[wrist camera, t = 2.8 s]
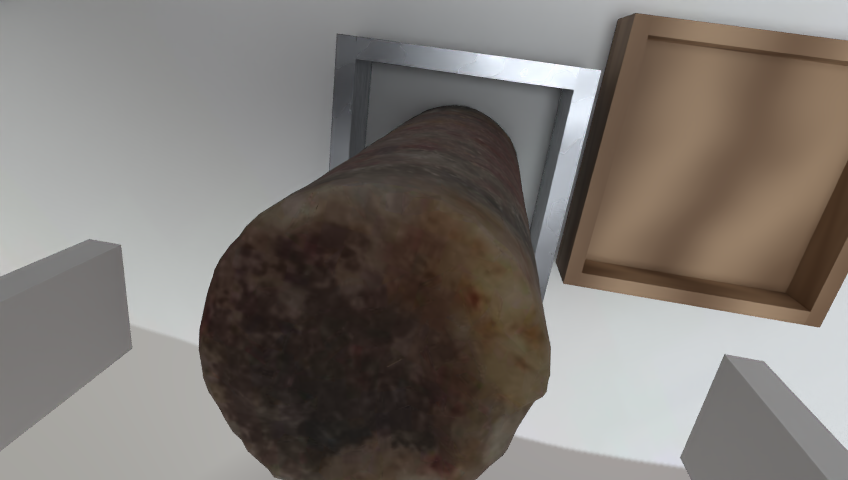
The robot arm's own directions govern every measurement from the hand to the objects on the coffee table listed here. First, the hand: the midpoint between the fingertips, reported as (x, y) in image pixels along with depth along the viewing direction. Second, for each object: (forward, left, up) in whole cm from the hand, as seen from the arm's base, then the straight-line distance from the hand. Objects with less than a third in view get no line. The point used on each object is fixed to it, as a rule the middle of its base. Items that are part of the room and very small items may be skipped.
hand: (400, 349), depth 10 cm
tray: (+14, +2, -19) cm, 23 cm away
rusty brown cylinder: (0, 0, -19) cm, 19 cm away
